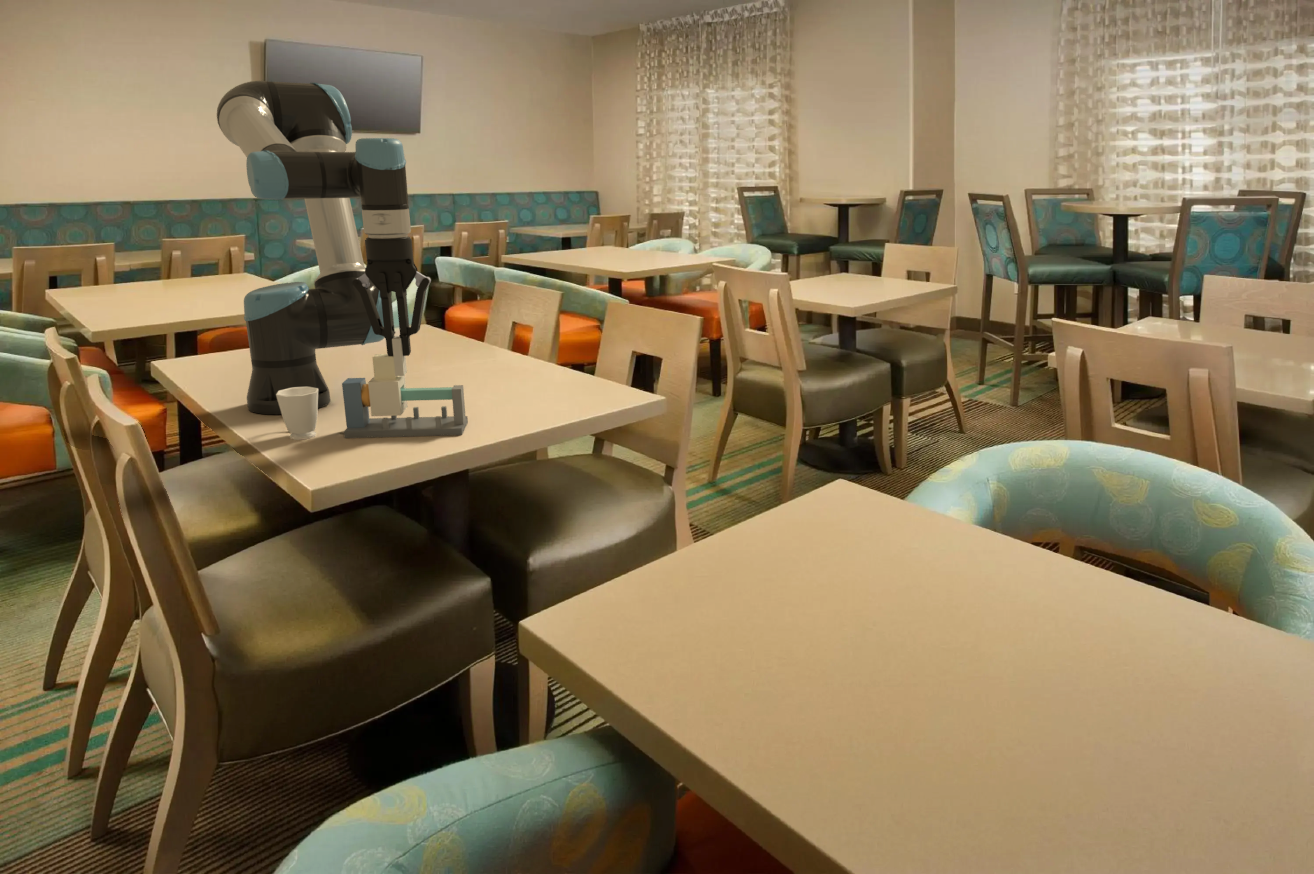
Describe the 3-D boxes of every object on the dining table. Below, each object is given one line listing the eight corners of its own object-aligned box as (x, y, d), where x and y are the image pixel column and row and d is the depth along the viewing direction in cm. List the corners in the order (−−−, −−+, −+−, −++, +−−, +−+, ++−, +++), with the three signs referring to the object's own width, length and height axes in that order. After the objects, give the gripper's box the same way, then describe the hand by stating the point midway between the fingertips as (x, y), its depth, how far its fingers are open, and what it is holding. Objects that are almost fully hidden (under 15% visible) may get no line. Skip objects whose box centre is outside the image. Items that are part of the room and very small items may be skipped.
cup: (287, 444, 148) (281, 398, 145) (272, 431, 155) (266, 387, 153) (329, 437, 152) (324, 392, 149) (312, 424, 159) (307, 381, 157)
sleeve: (407, 406, 158) (402, 351, 155) (401, 415, 152) (395, 358, 149) (379, 407, 157) (373, 352, 154) (371, 416, 151) (365, 359, 148)
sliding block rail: (467, 422, 160) (464, 373, 158) (462, 434, 153) (458, 383, 150) (356, 425, 159) (350, 375, 156) (344, 438, 151) (338, 386, 148)
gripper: (342, 238, 142) (357, 380, 149) (423, 237, 143) (435, 378, 150) (353, 234, 149) (368, 370, 156) (431, 233, 150) (442, 368, 157)
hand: (401, 374), depth 153 cm, fingers closed
